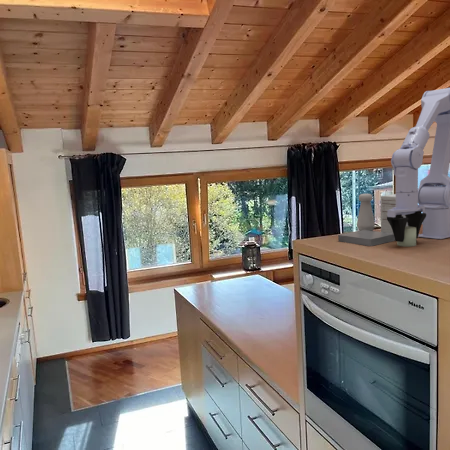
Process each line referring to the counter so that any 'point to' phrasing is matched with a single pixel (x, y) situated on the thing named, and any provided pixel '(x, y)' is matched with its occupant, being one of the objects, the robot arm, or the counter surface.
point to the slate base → (366, 237)
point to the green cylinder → (409, 237)
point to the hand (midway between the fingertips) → (406, 239)
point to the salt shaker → (365, 213)
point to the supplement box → (386, 204)
